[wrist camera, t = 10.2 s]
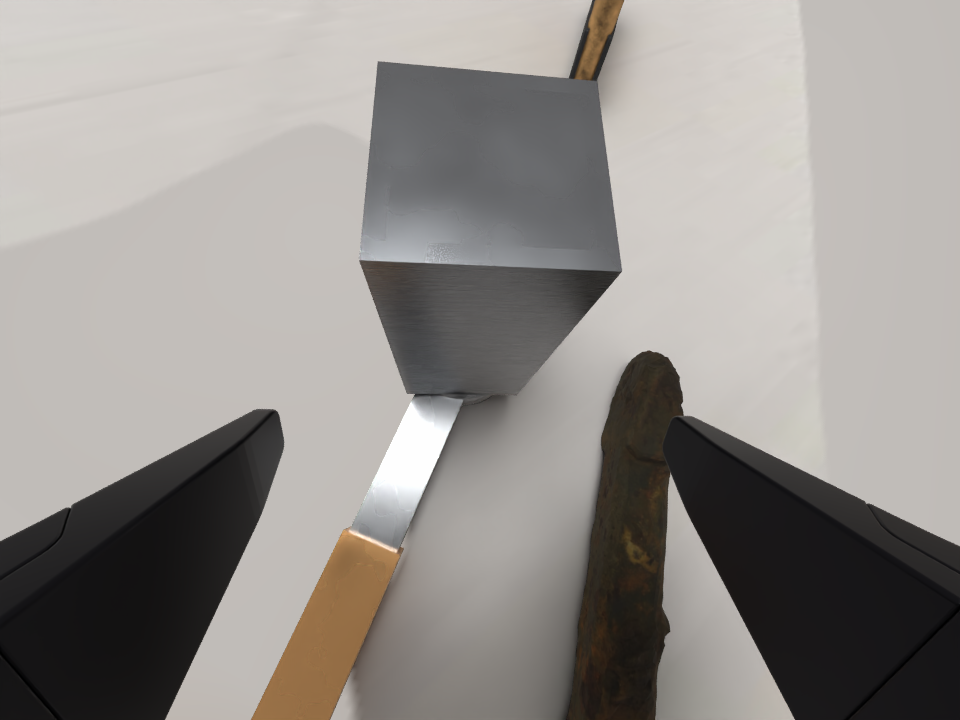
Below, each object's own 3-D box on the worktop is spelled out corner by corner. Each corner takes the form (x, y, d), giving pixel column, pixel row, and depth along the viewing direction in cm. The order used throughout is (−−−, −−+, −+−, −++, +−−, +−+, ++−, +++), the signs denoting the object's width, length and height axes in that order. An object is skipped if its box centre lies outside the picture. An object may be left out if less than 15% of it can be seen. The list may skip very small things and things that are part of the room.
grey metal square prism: (516, 395, 21) (622, 271, 9) (406, 393, 20) (358, 260, 8) (513, 297, 22) (596, 80, 10) (411, 293, 22) (378, 61, 10)
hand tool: (628, 758, 18) (689, 845, 14) (544, 734, 18) (578, 814, 14) (671, 376, 24) (723, 351, 20) (608, 357, 24) (646, 329, 20)
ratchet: (356, 752, 17) (323, 854, 12) (231, 694, 17) (152, 773, 13) (527, 330, 24) (548, 292, 19) (435, 292, 24) (434, 244, 19)
